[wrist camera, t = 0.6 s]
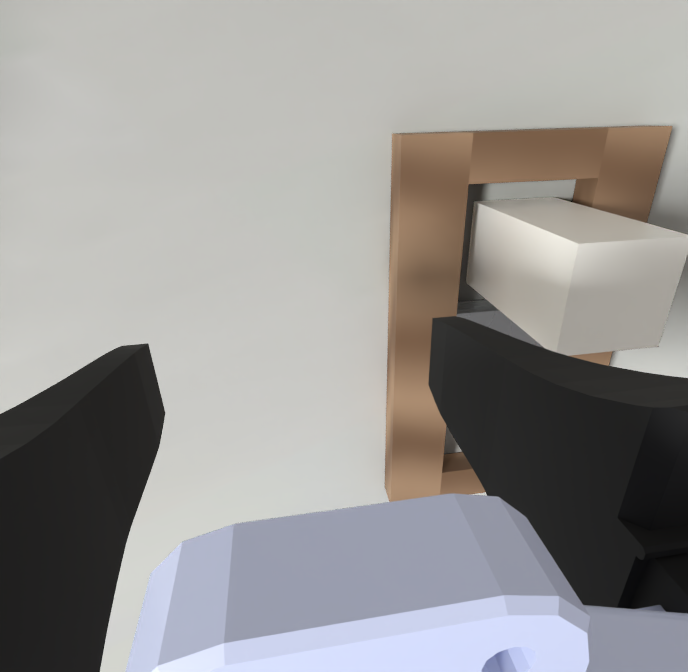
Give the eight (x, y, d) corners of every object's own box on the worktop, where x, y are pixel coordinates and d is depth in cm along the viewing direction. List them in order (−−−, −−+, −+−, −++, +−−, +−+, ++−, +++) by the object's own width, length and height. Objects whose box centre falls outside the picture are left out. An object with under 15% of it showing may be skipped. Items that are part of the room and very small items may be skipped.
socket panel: (564, 463, 30) (578, 479, 28) (384, 486, 28) (390, 505, 27) (646, 125, 21) (672, 126, 20) (392, 133, 19) (401, 134, 18)
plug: (539, 276, 23) (658, 346, 16) (465, 282, 23) (555, 356, 16) (553, 197, 22) (693, 236, 15) (474, 201, 21) (578, 243, 14)
